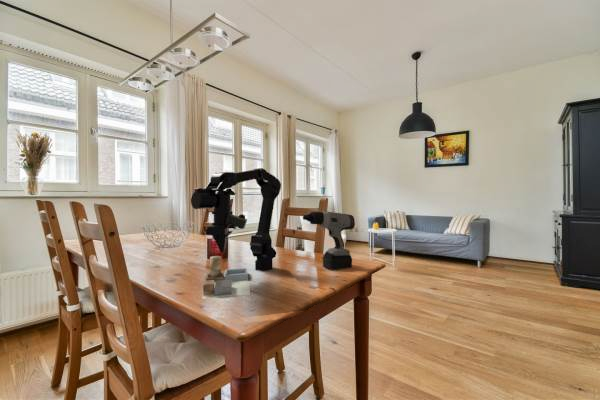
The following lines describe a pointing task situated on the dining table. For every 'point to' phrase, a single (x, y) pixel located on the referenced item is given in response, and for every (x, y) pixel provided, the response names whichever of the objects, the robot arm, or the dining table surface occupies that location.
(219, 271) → the oak dowel
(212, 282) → the bench dog
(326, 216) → the cordless drill
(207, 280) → the dowel socket
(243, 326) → the dining table surface
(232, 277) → the parts tray
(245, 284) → the bench board
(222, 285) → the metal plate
